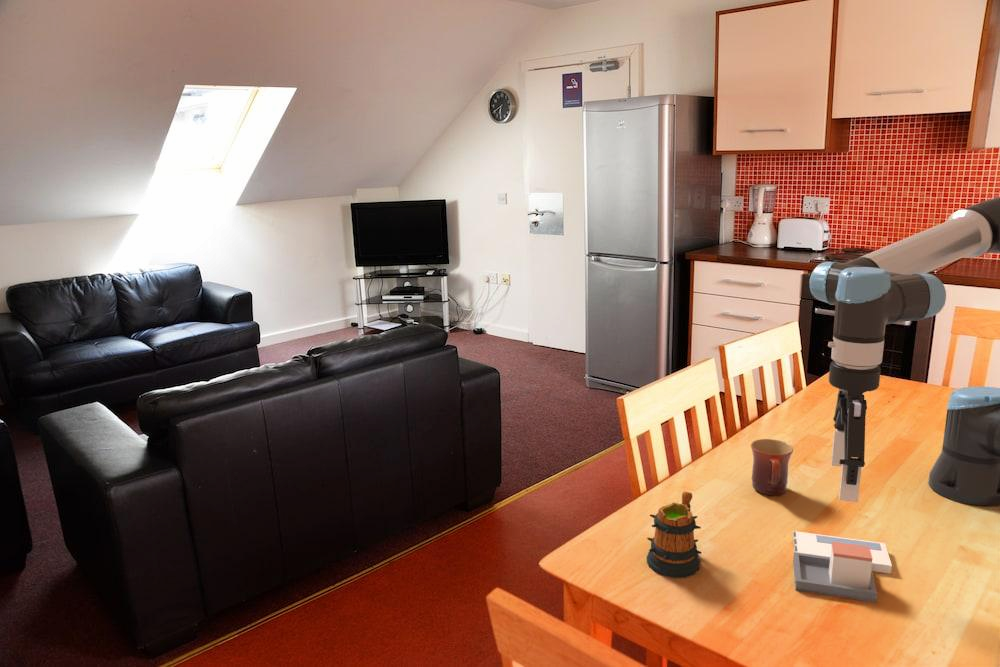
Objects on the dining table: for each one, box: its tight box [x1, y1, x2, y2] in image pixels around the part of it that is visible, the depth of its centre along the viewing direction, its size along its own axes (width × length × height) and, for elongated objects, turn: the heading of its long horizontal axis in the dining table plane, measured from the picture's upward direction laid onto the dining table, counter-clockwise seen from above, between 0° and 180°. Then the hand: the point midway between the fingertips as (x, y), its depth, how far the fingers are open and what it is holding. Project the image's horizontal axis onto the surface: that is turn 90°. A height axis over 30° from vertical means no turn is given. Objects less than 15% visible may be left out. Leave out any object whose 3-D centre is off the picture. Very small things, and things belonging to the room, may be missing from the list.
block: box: [829, 542, 872, 589], centre depth 129 cm, size 6×4×6 cm, turn 71°
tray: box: [792, 551, 878, 603], centre depth 131 cm, size 13×10×2 cm
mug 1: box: [646, 491, 702, 579], centre depth 137 cm, size 13×10×12 cm
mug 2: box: [750, 438, 794, 496], centre depth 162 cm, size 12×9×10 cm
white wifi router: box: [792, 530, 893, 575], centre depth 139 cm, size 16×8×2 cm, turn 71°
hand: (843, 482), depth 127 cm, fingers open, 13 cm apart
